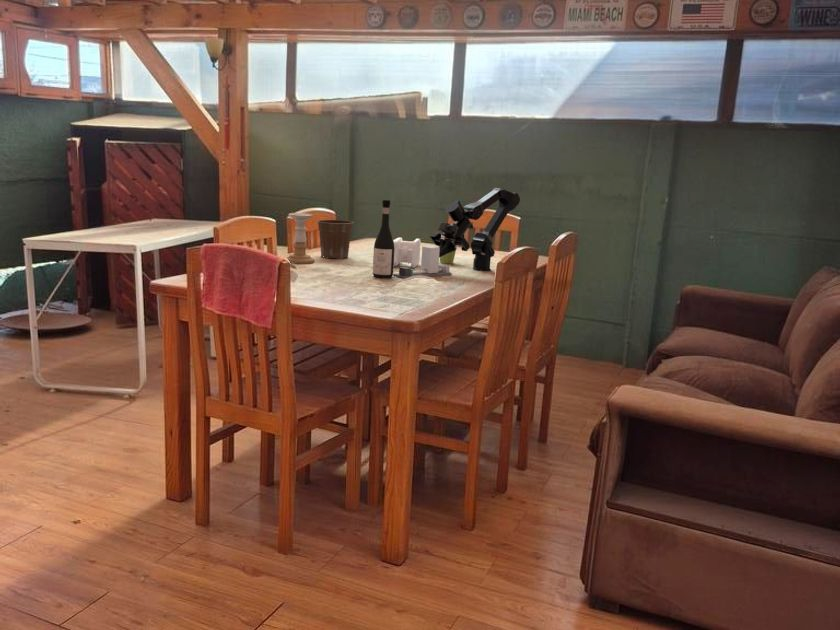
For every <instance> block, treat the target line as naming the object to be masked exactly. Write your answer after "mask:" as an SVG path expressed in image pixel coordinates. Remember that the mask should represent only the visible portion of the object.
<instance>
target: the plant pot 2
mask: <svg viewBox="0 0 840 630" xmlns="http://www.w3.org/2000/svg"><path fill="white" fill-rule="evenodd" d="M438 247H440V246H438ZM457 249H458V247H457V248H456V251H452V252H450V253H448V254H446V255H444V256H441V257H439V263H441V264H445V265H446V264H450V265H452V264H454V261H455V254H456V252H457Z"/></svg>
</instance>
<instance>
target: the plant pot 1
mask: <svg viewBox="0 0 840 630" xmlns="http://www.w3.org/2000/svg"><path fill="white" fill-rule="evenodd" d="M316 221H317V225H318V231H319V243H320V244H319V245H320V256H321V257H322V256H324V257H328V258H327V259H331V258H333V259H334V258H337V259H339V258H342V259H347V258H349V251H350V242H351V233H352V230H353V225H354V223H355V222H354V221H350V220H345V219H344V220H342V219H341V220H340V219H321V220H320V219H318V220H316ZM324 257H323V258H324Z"/></svg>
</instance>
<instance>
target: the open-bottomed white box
mask: <svg viewBox="0 0 840 630" xmlns="http://www.w3.org/2000/svg"><path fill="white" fill-rule="evenodd" d="M439 251H440V248H439V246H434V245H428V246H427V245H426V246H425V245H423V246H422V247H421V263H420V271H423V270H427V273H429V274H430V273H438V266H439V265H440V257H439Z"/></svg>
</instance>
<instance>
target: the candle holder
mask: <svg viewBox="0 0 840 630" xmlns="http://www.w3.org/2000/svg"><path fill="white" fill-rule="evenodd" d="M288 217H289V218H293V220H294V222H295V223H296V225H295V227H294V229H295V233H294V237H293V241H294V243H293V245H292V246H293V248H294V250H293V252H294V253H292V254H289V256H286V257H285V258H287V259H288V260H289V261H290V262H293V263H292V264H297V263H308V264H313V263H315V259H314V258H315V257H312V256H311V255H310V254H306V252H307V251H306V249H307V247H308V244H307V243H306V242H307V240H308V239H307V238H308V237H307V234H306V230H307V227H306V225H305V224H306V223H307V220H308V219H313V217H314V214H313V213H302V212H290V213H288ZM312 262H313V263H312Z"/></svg>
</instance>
